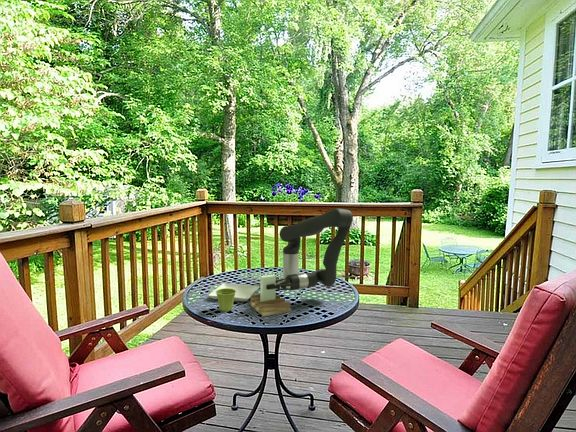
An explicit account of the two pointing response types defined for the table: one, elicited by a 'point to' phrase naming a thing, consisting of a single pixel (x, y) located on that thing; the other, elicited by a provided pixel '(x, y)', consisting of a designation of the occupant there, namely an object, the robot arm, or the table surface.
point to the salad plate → (237, 291)
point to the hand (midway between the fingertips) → (264, 285)
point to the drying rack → (270, 305)
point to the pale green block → (265, 293)
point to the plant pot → (225, 298)
